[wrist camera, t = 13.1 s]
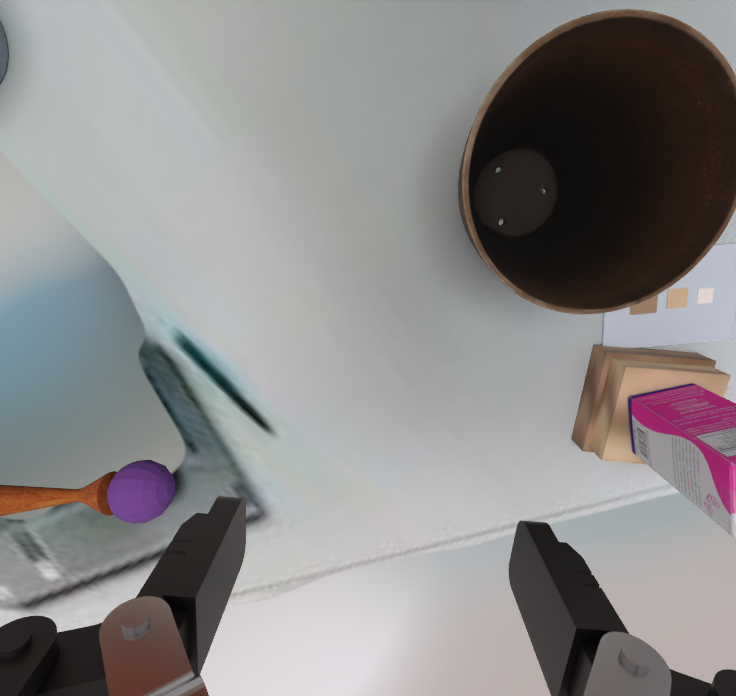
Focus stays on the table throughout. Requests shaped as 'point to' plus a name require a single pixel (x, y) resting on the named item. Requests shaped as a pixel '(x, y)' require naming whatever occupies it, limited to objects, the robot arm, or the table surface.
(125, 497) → the kendama
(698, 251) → the plant pot
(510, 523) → the table surface
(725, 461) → the supplement box
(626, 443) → the base block
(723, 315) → the page
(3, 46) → the gray cup
